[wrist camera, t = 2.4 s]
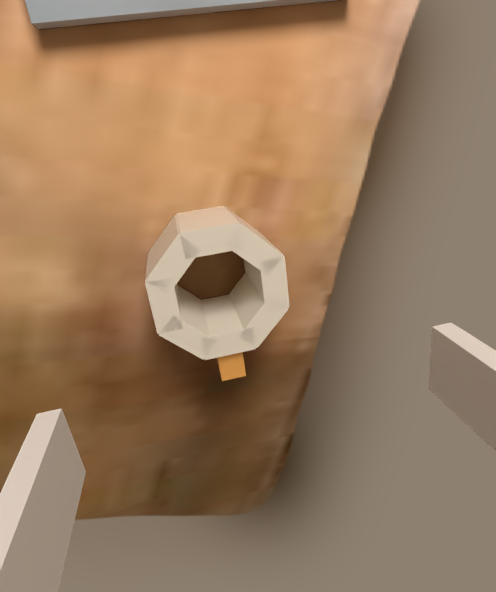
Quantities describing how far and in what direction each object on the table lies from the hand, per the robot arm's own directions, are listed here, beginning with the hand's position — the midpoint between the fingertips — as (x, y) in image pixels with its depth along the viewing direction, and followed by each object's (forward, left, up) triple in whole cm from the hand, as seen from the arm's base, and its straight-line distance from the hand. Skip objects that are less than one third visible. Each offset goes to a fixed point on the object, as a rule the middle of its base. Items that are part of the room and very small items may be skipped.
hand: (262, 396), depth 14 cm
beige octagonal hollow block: (0, -1, -16) cm, 16 cm away
